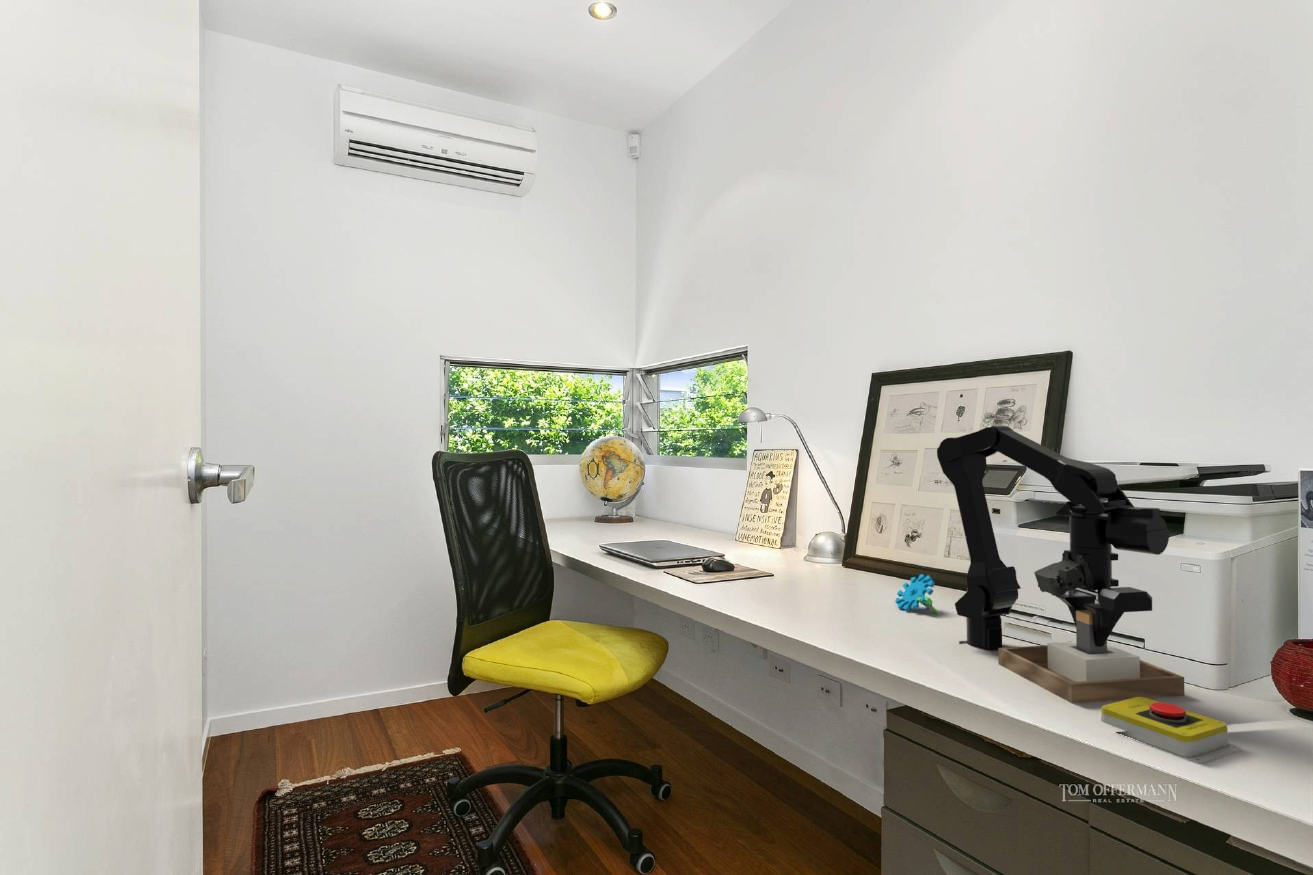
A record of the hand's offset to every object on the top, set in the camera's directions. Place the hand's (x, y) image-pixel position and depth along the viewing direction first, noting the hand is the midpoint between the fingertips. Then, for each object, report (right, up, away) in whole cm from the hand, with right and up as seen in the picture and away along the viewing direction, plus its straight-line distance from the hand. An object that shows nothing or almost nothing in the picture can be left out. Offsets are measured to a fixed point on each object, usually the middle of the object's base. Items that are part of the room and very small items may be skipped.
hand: (1091, 643), depth 117 cm
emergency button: (-3, -7, -20) cm, 22 cm away
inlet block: (0, -5, 0) cm, 5 cm away
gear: (-11, -6, +48) cm, 50 cm away
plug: (0, -3, 0) cm, 3 cm away
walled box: (-2, -6, -1) cm, 6 cm away
